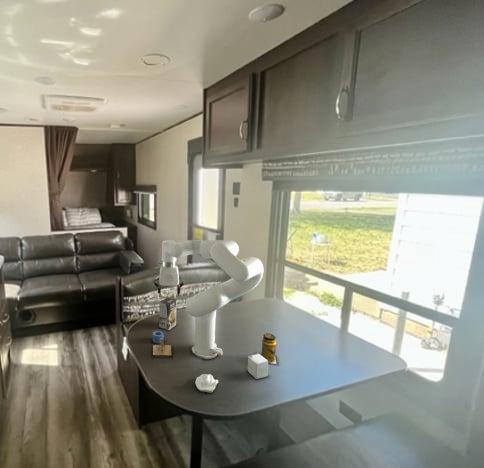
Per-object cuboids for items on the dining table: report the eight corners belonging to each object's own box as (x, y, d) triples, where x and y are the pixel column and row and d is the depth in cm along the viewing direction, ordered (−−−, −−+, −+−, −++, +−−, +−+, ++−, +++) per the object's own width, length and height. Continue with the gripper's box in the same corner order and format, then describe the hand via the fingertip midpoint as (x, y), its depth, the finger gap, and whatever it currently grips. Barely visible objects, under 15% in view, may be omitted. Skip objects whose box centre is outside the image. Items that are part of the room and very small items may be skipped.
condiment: (276, 364, 138) (278, 340, 135) (257, 361, 140) (258, 337, 138) (274, 355, 144) (276, 332, 142) (256, 353, 147) (257, 330, 145)
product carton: (267, 376, 129) (268, 361, 128) (255, 379, 127) (256, 363, 126) (258, 368, 135) (259, 353, 134) (247, 370, 133) (247, 355, 132)
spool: (165, 341, 159) (165, 332, 158) (159, 346, 154) (159, 337, 153) (156, 338, 162) (156, 329, 161) (150, 343, 157) (150, 334, 156)
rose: (223, 381, 120) (201, 385, 117) (223, 391, 120) (201, 395, 118) (212, 367, 129) (191, 370, 127) (212, 376, 130) (191, 379, 128)
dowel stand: (170, 347, 153) (170, 334, 152) (171, 357, 144) (171, 343, 143) (153, 346, 154) (153, 334, 152) (152, 357, 145) (152, 343, 144)
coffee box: (168, 331, 170) (168, 304, 167) (158, 328, 173) (158, 301, 171) (176, 325, 177) (176, 299, 174) (167, 322, 181) (167, 296, 178)
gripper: (152, 265, 153) (152, 297, 156) (186, 265, 152) (185, 297, 155) (152, 262, 161) (152, 292, 163) (184, 261, 160) (184, 292, 163)
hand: (169, 294), depth 159 cm, fingers open, 9 cm apart
